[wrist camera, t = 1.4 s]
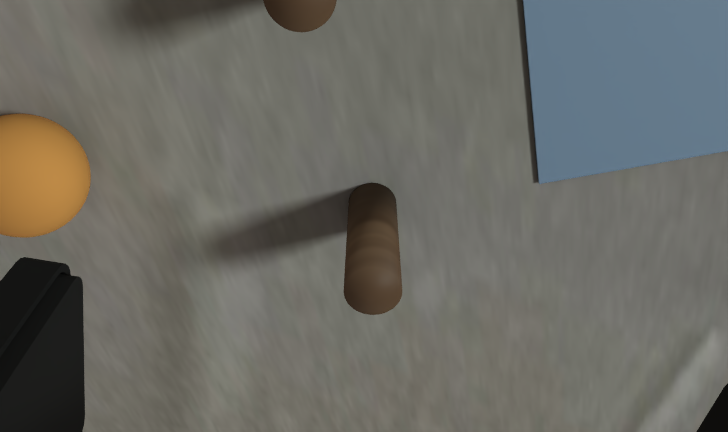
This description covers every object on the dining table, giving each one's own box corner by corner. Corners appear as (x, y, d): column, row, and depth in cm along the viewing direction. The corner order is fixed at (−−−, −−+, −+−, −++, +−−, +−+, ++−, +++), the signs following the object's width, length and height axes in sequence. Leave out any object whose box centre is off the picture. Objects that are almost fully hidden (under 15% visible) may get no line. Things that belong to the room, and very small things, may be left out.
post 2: (344, 187, 36) (337, 272, 30) (391, 179, 36) (396, 263, 29) (354, 227, 38) (350, 318, 31) (399, 219, 37) (406, 309, 31)
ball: (-31, 108, 34) (-103, 158, 29) (79, 85, 34) (26, 132, 29) (22, 208, 37) (-34, 270, 32) (124, 189, 37) (84, 249, 31)
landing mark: (513, -99, 29) (514, -99, 29) (854, -174, 28) (857, -174, 28) (538, 182, 36) (539, 183, 36) (812, 133, 35) (814, 135, 35)
